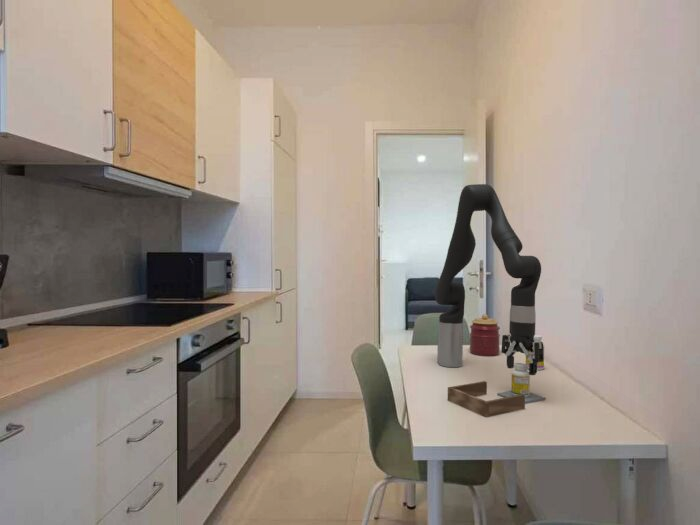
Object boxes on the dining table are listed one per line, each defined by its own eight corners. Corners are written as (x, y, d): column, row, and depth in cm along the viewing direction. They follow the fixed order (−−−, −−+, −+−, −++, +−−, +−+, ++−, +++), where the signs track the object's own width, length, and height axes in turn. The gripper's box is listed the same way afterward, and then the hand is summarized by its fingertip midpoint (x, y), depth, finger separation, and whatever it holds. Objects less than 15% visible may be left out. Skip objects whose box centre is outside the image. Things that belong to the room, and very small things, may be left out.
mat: (497, 395, 144) (497, 393, 144) (519, 390, 149) (519, 388, 149) (522, 404, 136) (522, 402, 136) (545, 399, 140) (545, 397, 140)
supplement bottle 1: (526, 398, 139) (526, 367, 139) (508, 395, 142) (509, 364, 142) (532, 394, 143) (532, 364, 143) (515, 391, 146) (515, 361, 146)
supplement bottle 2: (522, 368, 179) (522, 335, 178) (530, 365, 183) (531, 333, 183) (538, 371, 174) (539, 337, 173) (547, 368, 178) (547, 335, 178)
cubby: (447, 400, 139) (447, 387, 139) (484, 393, 146) (484, 381, 146) (486, 417, 125) (486, 402, 125) (524, 408, 132) (524, 395, 132)
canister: (495, 357, 196) (495, 316, 196) (465, 354, 203) (466, 314, 202) (502, 352, 207) (503, 313, 207) (474, 349, 214) (474, 311, 213)
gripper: (496, 317, 146) (495, 367, 147) (532, 324, 134) (531, 379, 134) (513, 315, 150) (512, 364, 150) (550, 322, 137) (548, 375, 138)
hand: (521, 371), depth 142 cm, fingers open, 8 cm apart
